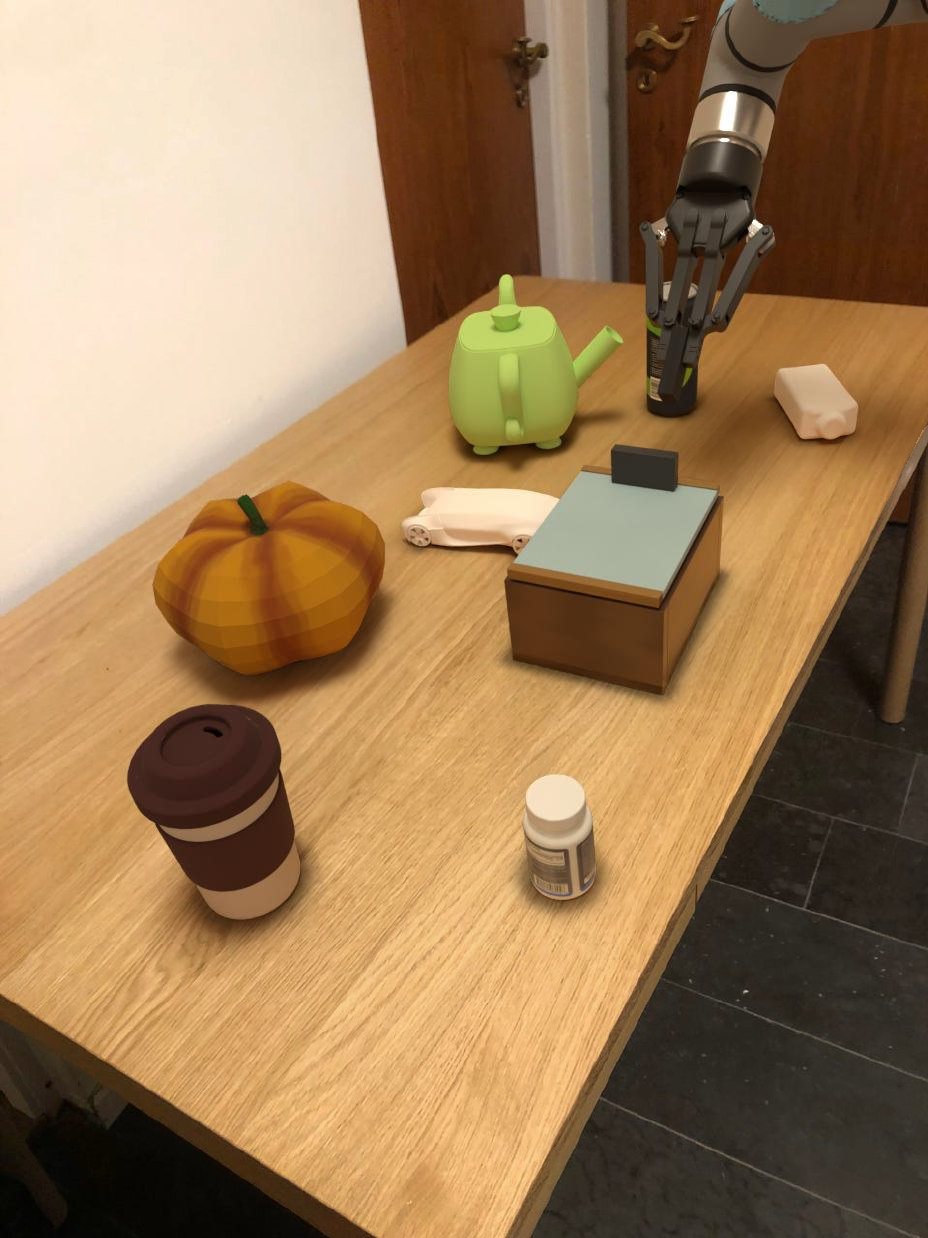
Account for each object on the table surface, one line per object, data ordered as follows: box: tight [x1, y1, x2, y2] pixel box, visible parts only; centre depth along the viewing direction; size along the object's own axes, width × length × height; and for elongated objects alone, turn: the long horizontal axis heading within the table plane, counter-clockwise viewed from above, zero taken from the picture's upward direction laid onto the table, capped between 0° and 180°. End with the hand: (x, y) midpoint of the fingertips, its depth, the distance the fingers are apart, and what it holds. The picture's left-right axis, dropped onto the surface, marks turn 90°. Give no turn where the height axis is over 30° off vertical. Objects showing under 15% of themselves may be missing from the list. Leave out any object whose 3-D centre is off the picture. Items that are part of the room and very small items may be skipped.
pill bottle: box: [522, 773, 597, 901], centre depth 66 cm, size 5×5×8 cm
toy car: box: [399, 486, 561, 556], centre depth 102 cm, size 18×8×4 cm, turn 70°
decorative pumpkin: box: [152, 480, 386, 676], centre depth 90 cm, size 20×22×15 cm
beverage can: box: [645, 280, 699, 417], centre depth 117 cm, size 6×6×15 cm
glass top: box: [506, 443, 721, 608], centre depth 83 cm, size 13×18×4 cm
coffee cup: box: [126, 703, 301, 920], centre depth 67 cm, size 10×10×15 cm
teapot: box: [447, 274, 624, 456], centre depth 118 cm, size 25×22×16 cm
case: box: [503, 494, 725, 696], centre depth 87 cm, size 14×18×9 cm
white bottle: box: [773, 363, 859, 440], centre depth 113 cm, size 6×13×4 cm, turn 1°
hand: (667, 398), depth 90 cm, fingers closed
